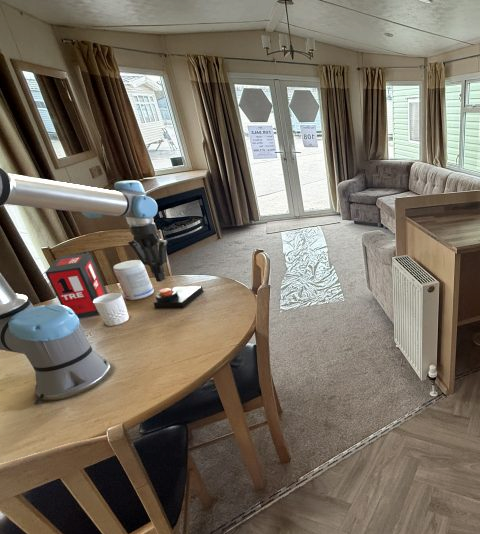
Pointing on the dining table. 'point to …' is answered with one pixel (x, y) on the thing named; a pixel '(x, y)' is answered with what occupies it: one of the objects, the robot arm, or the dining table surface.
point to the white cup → (111, 308)
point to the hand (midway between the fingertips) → (161, 280)
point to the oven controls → (178, 297)
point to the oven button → (165, 292)
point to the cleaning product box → (77, 283)
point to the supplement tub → (133, 279)
